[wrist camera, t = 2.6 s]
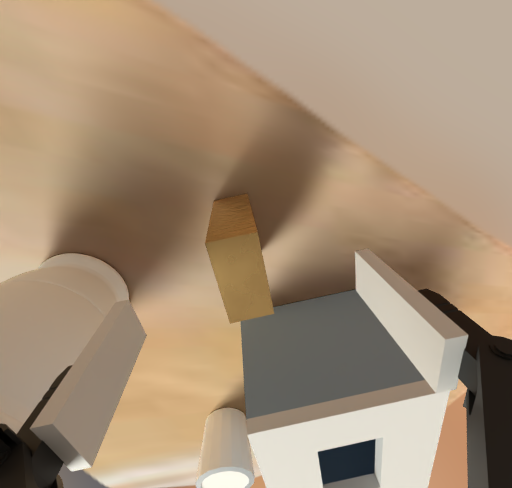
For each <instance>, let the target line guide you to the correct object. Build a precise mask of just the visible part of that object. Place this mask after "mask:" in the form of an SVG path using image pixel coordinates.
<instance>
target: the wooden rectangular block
mask: <svg viewBox="0 0 512 488" xmlns="http://www.w3.org/2000/svg"><path fill="white" fill-rule="evenodd" d="M205 245H206V248H207V251H208V254H209V257H210V261H211V264H212V267H213V270H214V273H215V277H216V280H217V283H218V286H219V289H220V293H221V296H222V299H223V302H224V306H225V309H226V312H227V315H228V318H229V322H230V323H234V322H239V321H244V320H248V319H253V318H257V317H262V316H267V315H271V314H274V309H273V304H272V300H271V295H270V290H269V285H268V280H267V275H266V270H265V265H264V261H263V256H262V251H261V246H260V241H259V236H258V231H257V228H256V224H255V220H254V217H253V213H252V209H251V206H250V202H249V198H248V194H243V195H238V196H233V197H229V198H224V199H219V200H215V201H214V203H213V208H212V213H211V217H210V222H209V227H208V232H207V236H206V241H205Z"/></svg>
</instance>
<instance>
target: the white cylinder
mask: <svg viewBox="0 0 512 488" xmlns="http://www.w3.org/2000/svg"><path fill="white" fill-rule="evenodd" d="M253 483H254V470H253V463H252V456H251V449H250V443H249V438H248V436H247V423H246V416H245V415H244V413H243V412H241V411H240V410H238V409H234V408H221V409H218V410H215V411H213V412H212V413H211V414H209V415H208V417H207V419H206V423H205V429H204V435H203V441H202V447H201V453H200V459H199V465H198V471H197V477H196V488H250V487H251V486H252V484H253Z"/></svg>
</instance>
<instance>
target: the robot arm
mask: <svg viewBox="0 0 512 488" xmlns="http://www.w3.org/2000/svg"><path fill="white" fill-rule="evenodd" d="M355 272H356V291H357V293H358V294H359V295H360V296H361V298H362V299H363V300H364V302H365V303H366V304H367V305H368V307H369V308H370V309H371V311H372V312H373V313H374V314H375V316H376V317H377V318H378V320H379V321H380V322H381V323H382V325H383V326H384V327H385V328H386V330H387V331H388V332H389V334H390V335H391V336H392V337H393V339H394V340H395V341H396V343H397V344H398V345H399V346H400V348H401V349H402V350H403V352H404V353H405V354H406V355H407V357H408V358H409V359H410V361H411V362H412V363H413V364H414V366H415V367H416V368H417V370H418V371H419V372H420V373H421V375H422V376H423V377H424V379H425V380H426V381H427V382H428V384H429V385H430V386H431V388H432V389H433V390H434V391H435V393H441V392H446V391H451V390H455V389H456V388H457V384H458V379H460V380H461V381H462V382H463V384H464V385H465V386H466V387H467V392H466V397H465V400H464V404H463V407H465V408H466V409H467V463H468V488H512V340H510V339H507V338H504V337H499V336H492V335H491V334H489V333H488V332H487V331H485V330H484V329H483V328H482V327H480V326H479V325H478V324H477V323H475V322H474V321H473V320H471V319H470V318H469V317H468V316H466V315H465V314H464V313H463V312H461V311H460V310H458V308H456V307H455V306H454V305H452V304H450V302H449V301H447V300H446V299H445V298H444V297H442V296H441V295H440V294H437V293H435V292H433V291H431V290H428V289H423V290H419V291H417V290H416V289H415V288H414V287H412V286H411V285H410V284H409V283H408V282H407V281H405V280H404V279H403V278H402V277H401V276H400V275H398V274H397V273H396V272H395V271H394V270H393V269H391V268H390V267H389V266H388V265H387V264H386V263H385V262H383V261H382V260H381V259H380V258H379V257H378V256H376V255H375V254H374V253H373V252H372V251H371V250H369V249H363V250H358V251H355ZM146 336H147V335H146V333H145V331H144V329H143V327H142V325H141V323H140V321H139V319H138V317H137V315H136V313H135V311H134V309H133V307H132V305H131V303H130V301H129V300H124V301H119V302H115V304H114V305H113V306H112V308H111V309H110V311H109V312H108V314H107V315H106V317H105V318H104V320H103V321H102V323H101V324H100V326H99V327H98V329H97V330H96V332H95V333H94V334H93V336H92V337H91V339H90V340H89V342H88V343H87V345H86V346H85V348H84V349H83V351H82V352H81V354H80V355H79V357H78V358H77V359H76V361H75V362H74V364H73V365H71V366H68V367H67V368H66V369H65V370H64V371H63V372H62V373H61V374H60V375H59V376H58V377H57V378H56V379H55V381H54V382H53V383H52V385H51V386H50V388H49V391H47V392H46V393H45V395H44V396H43V397H42V400H41V401H40V402H39V403H38V404H37V406H36V407H35V409H34V410H33V412H32V413H31V414H30V416H29V417H28V419H27V420H26V421H25V423H24V424H23V426H22V427H21V428H20V430H19V431H18V433H17V434H16V433H15V432H14V431H13V430H12V429H11V428H9V427H8V426H7V425H6V424H0V488H63V482H62V479H61V477H60V476H59V475H58V473H59V471H60V469H61V467H62V465H63V463H64V464H65V465H66V466H67V467H68V468H69V469H70V470H71V471H76V470H81V469H86V468H90V467H92V465H93V463H94V460H95V458H96V456H97V453H98V451H99V448H100V446H101V444H102V441H103V439H104V436H105V434H106V432H107V429H108V427H109V424H110V422H111V420H112V417H113V415H114V412H115V410H116V408H117V405H118V403H119V400H120V398H121V396H122V393H123V391H124V388H125V386H126V384H127V381H128V379H129V376H130V374H131V372H132V369H133V367H134V364H135V362H136V360H137V357H138V355H139V352H140V350H141V348H142V345H143V343H144V340H145V338H146Z"/></svg>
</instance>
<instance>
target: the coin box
mask: <svg viewBox="0 0 512 488" xmlns="http://www.w3.org/2000/svg"><path fill="white" fill-rule="evenodd" d="M273 309H274V314H271V315H267V316H262V317H257V318H253V319H248V320H244V321H241V337H242V354H243V371H244V389H245V406H246V423H247V436H248V438H249V441H250V444H251V447H252V449H253V452H254V455H255V458H256V460H257V463H258V466H259V469H260V471H261V474H262V477H263V479H264V482H265V485H266V487H267V488H428V484H429V479H430V475H431V471H432V466H433V462H434V458H435V453H436V449H437V444H438V440H439V436H440V432H441V427H442V423H443V419H444V414H445V410H446V406H447V401H448V397H449V393H450V391H446V392H441V393H435V391H434V390H433V389H432V388H431V386H430V385H429V384H428V382H427V381H426V380H425V379H424V377H423V376H422V375H421V373H420V372H419V371H418V370H417V368H416V367H415V366H414V364H413V363H412V362H411V361H410V359H409V358H408V357H407V355H406V354H405V353H404V352H403V350H402V349H401V348H400V346H399V345H398V344H397V343H396V341H395V340H394V339H393V337H392V336H391V335H390V334H389V332H388V331H387V330H386V328H385V327H384V326H383V325H382V323H381V322H380V321H379V320H378V318H377V317H376V316H375V314H374V313H373V312H372V311H371V309H370V308H369V307H368V305H367V304H366V303H365V302H364V300H363V299H362V298H361V296H360V295H359V294H358V293H357V291H356V289H355V290H351V291H346V292H341V293H337V294H332V295H328V296H323V297H318V298H314V299H309V300H305V301H300V302H295V303H291V304H286V305H282V306H277V307H273Z"/></svg>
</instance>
